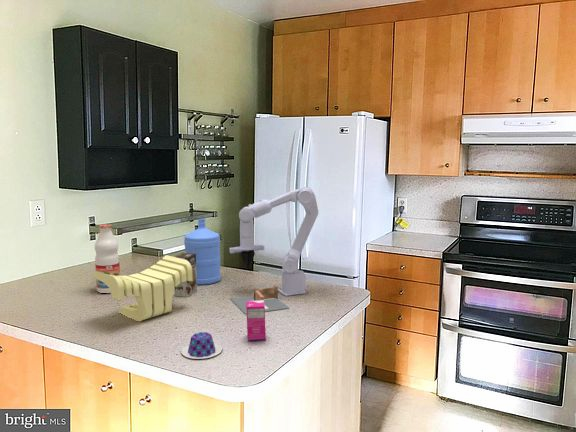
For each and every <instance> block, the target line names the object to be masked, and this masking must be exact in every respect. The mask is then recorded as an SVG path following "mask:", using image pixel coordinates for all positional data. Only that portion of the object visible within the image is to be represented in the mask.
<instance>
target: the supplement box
mask: <svg viewBox="0 0 576 432" xmlns="http://www.w3.org/2000/svg"><path fill="white" fill-rule="evenodd" d="M246 307H247V315H246V328H247V342H267V341H266V340H267V339H266V338H267V337H266V333H267V332H266V312H265V304H264V300H259V301H247V302H246Z"/></svg>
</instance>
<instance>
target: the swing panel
mask: <svg viewBox="0 0 576 432" xmlns="http://www.w3.org/2000/svg"><path fill="white" fill-rule="evenodd" d="M259 300H264V296H263V295H262V294H261V293H260V292H259V291H258V290H257V291H255V301H259Z"/></svg>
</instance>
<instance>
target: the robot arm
mask: <svg viewBox="0 0 576 432" xmlns="http://www.w3.org/2000/svg"><path fill="white" fill-rule="evenodd" d="M290 202H293V203H300V204H301V206H302V207H303V209H304V211H305V213H306V214H305V215H304V217H303V220H302V223H301V224H300V228H299V229H298V231H297V234H296V236H295V239H294V240H293V243H292V245H291V247H290V250H289V251H288V253H286V254H285V256H284V258H283V260H282V265H281V267H282V270H281V289H279V288H278V292H279V293H281V294H282V295H283V296H286V297H287V296H294V295H295V296H296V295H302V294H307V291H306V287H307V286H306V279H307V278H306V273H305V272H304V271H303V270H300V269H299V268H298V266H299V265H298V264H299V259H300V257H301V255H302V253H303V249H304V248H305V245H306V243H307V240H308V238H309V236H310V234H311V231H312V229H313V227H314V224H315V222H316V220H317V217H319V207H318V202H317V197H316V194H315V192H314V191H313V189H311V188H310V187H308V186H304V187H301V188H298V189H297V188H296V189H293V190H290V191H288V192H286V193H283V194H282V195H279V196H277V197H274V198H272V199H271V200H269V199H266V198H265V199H262V198H261V199H259V200H258V202H254V203H252V204H251V203H249V204H248V206H243V207H242V209H240V210H239V213H238V217H239V246H235V247H229V253H230V254H235V253H239V254H240V256H241V259H242V261H243V264H244V268H245V270H250V269H251V264H252V261H253V259H254V257H255V255H256V253H255V252H257V251H265V245H264V244H258V245H257V244H256V245H255V225H254V219H255V218H256V219H257V218H259V217H262V216H266V215H267V214H270V213H271V212H272V209H273V208H275V207H276V208H277V207H278V206H281V205H283V204H286V203H290Z"/></svg>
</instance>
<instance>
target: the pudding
mask: <svg viewBox="0 0 576 432" xmlns="http://www.w3.org/2000/svg"><path fill="white" fill-rule="evenodd" d="M222 351H223V346H222V345H220V343H217V342H214V340H213V337H212V334H211V333H209V332H206V331H205V332H204V331H203V332H202V331H199V332H197V333H193V335H192V336H191V338H190V341H189V344H186V345H185V346H184V347H182V349H181V351H180V352H181V355H183V356H184V357H186V358H187V359H194V360H195V359H197V360H199V359H202V360H203V359H208V358H212V357H215V356H217V355H219V354H220V353H222Z"/></svg>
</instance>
